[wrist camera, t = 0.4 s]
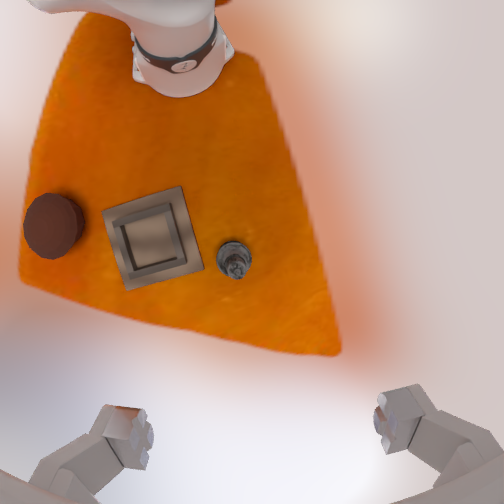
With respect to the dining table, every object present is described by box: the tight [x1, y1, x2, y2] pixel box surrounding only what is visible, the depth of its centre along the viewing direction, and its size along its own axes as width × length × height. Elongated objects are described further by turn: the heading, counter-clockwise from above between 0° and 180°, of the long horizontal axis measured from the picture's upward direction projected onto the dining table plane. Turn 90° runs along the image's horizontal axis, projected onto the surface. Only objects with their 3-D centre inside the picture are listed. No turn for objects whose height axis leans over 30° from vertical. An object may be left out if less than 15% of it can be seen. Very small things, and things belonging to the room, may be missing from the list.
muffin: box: [23, 193, 85, 260], centre depth 44 cm, size 12×11×10 cm
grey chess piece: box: [216, 241, 252, 280], centre depth 48 cm, size 6×6×12 cm
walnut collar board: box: [101, 186, 204, 291], centre depth 50 cm, size 15×15×4 cm
